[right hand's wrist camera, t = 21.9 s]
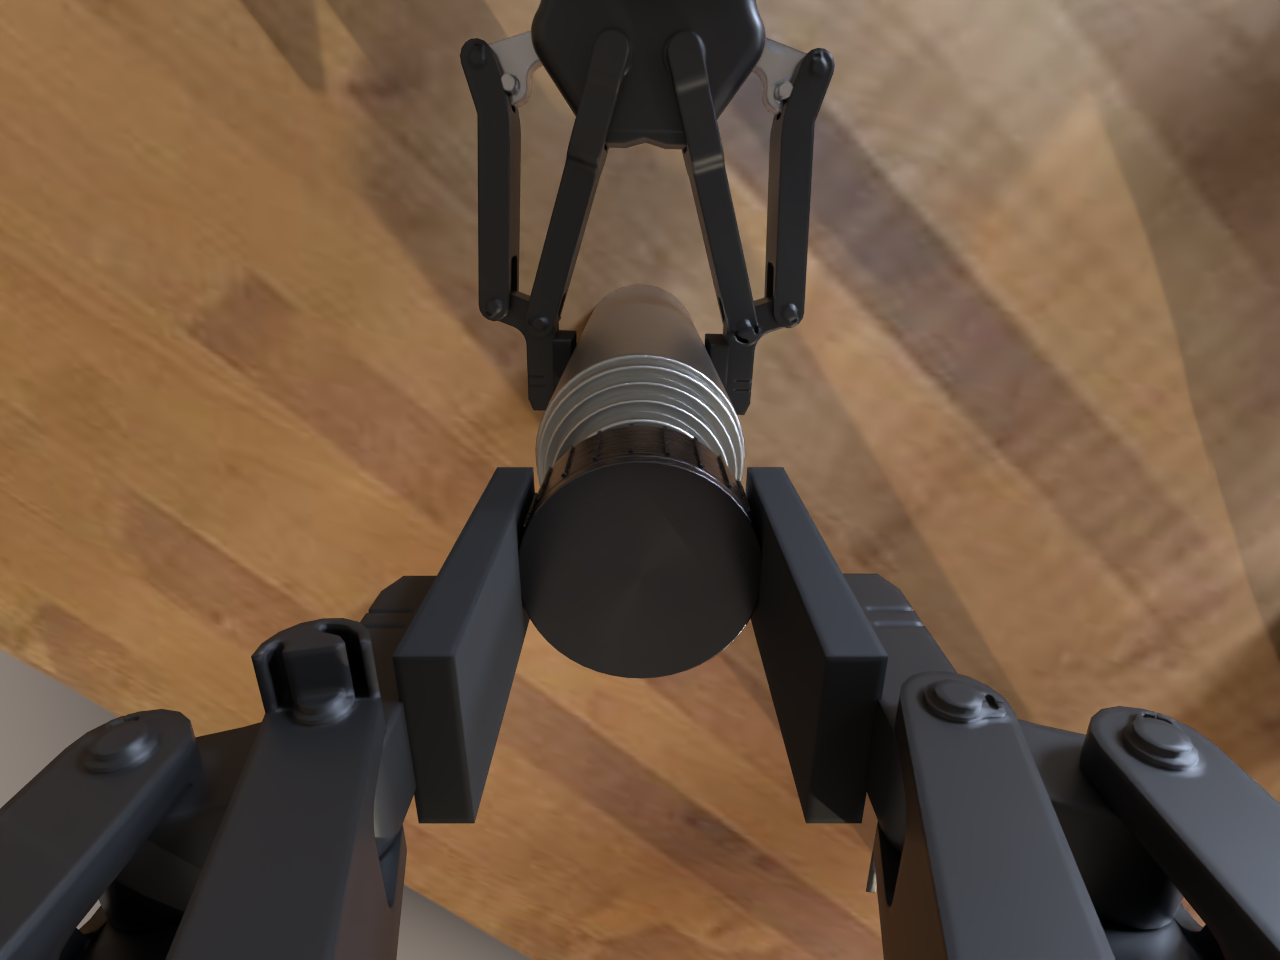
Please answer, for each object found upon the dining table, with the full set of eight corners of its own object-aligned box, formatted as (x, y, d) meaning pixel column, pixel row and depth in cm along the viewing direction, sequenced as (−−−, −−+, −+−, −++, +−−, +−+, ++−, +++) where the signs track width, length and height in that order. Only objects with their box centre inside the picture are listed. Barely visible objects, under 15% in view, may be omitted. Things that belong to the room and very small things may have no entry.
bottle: (711, 306, 35) (838, 475, 13) (673, 409, 37) (723, 712, 15) (604, 268, 34) (538, 375, 12) (571, 375, 36) (460, 638, 14)
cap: (661, 653, 16) (664, 718, 14) (489, 545, 15) (465, 599, 13) (794, 507, 15) (819, 555, 12) (615, 376, 13) (611, 405, 11)
